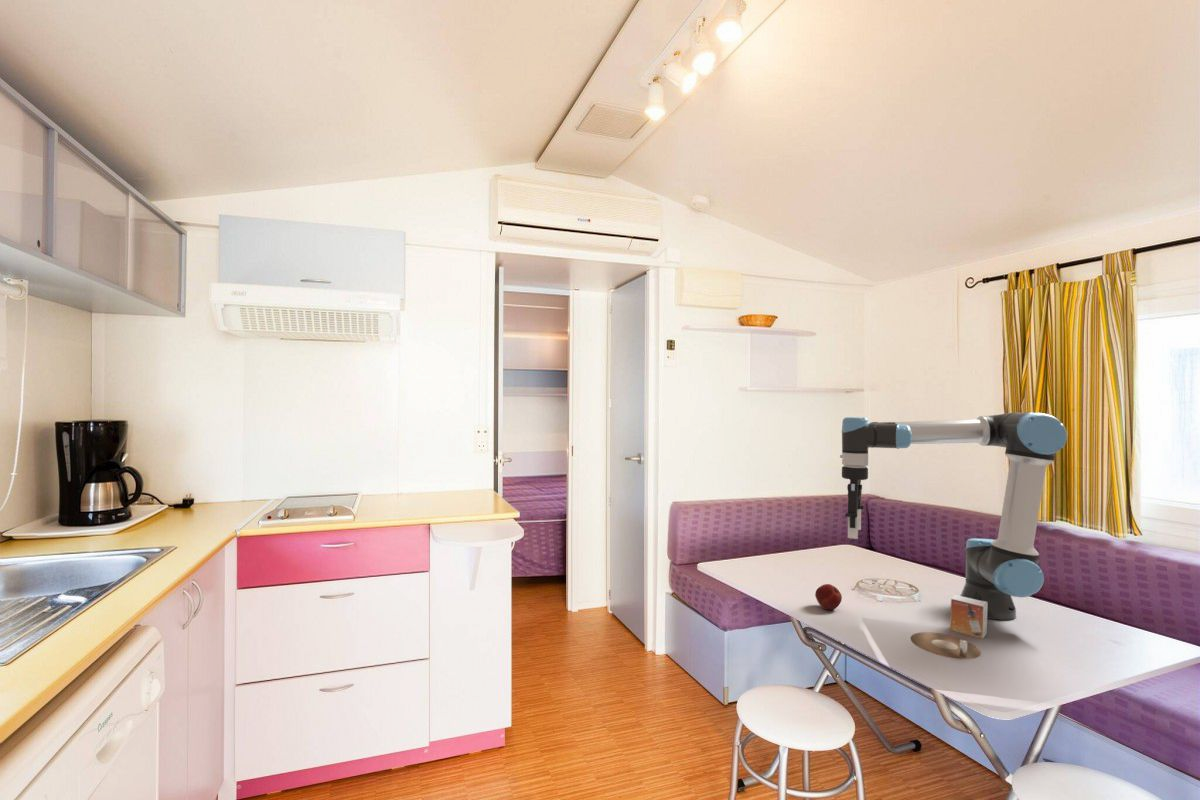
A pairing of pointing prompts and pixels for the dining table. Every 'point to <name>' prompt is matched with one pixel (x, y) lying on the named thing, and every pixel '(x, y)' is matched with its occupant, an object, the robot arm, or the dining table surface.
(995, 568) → the robot arm
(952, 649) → the flange base
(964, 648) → the stop pin
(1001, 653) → the dining table surface
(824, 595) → the apple
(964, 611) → the small box
